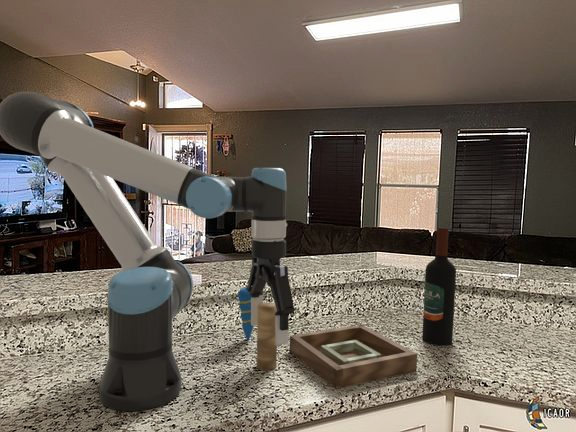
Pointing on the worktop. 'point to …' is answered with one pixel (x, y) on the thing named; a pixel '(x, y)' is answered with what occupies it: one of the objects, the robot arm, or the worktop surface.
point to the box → (352, 355)
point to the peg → (266, 337)
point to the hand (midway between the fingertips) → (268, 333)
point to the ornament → (245, 311)
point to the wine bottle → (439, 295)
